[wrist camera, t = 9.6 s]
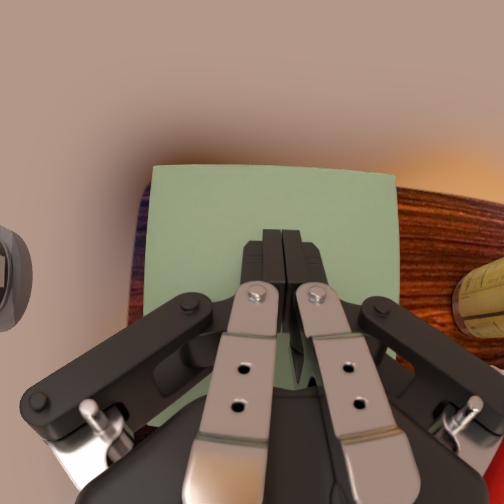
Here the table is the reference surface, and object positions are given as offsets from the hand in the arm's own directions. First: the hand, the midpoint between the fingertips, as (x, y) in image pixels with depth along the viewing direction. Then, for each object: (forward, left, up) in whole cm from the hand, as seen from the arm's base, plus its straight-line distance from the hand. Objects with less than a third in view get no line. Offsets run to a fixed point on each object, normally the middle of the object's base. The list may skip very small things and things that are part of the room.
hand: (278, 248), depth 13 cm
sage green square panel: (0, -2, -2) cm, 3 cm away
